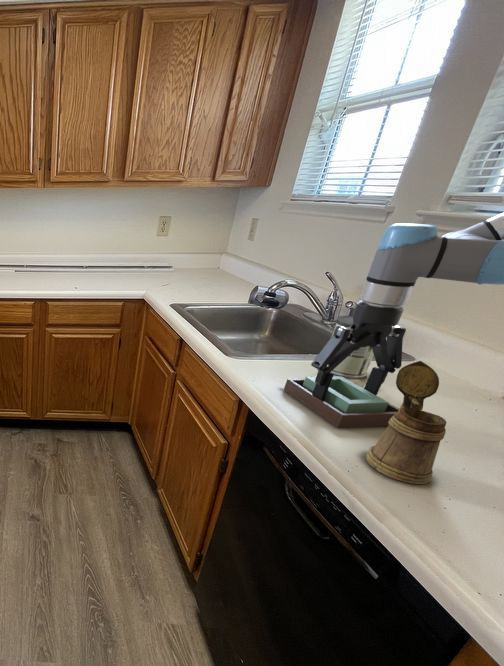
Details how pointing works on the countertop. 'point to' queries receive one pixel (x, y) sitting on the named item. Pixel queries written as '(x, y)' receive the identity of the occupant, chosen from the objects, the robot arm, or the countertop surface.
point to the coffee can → (353, 355)
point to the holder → (335, 415)
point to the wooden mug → (410, 430)
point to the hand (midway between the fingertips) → (343, 396)
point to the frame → (348, 396)
